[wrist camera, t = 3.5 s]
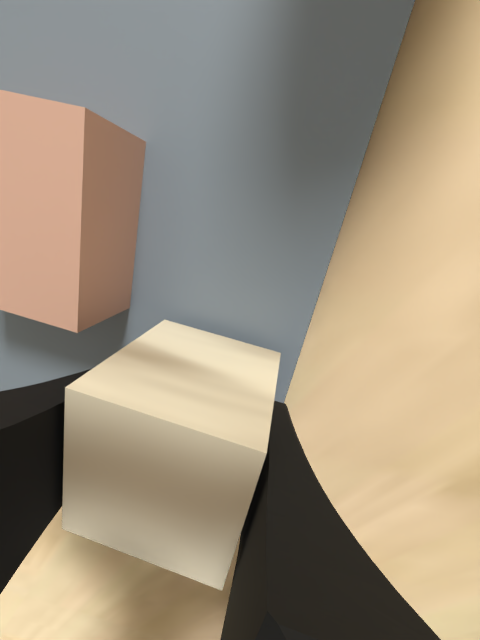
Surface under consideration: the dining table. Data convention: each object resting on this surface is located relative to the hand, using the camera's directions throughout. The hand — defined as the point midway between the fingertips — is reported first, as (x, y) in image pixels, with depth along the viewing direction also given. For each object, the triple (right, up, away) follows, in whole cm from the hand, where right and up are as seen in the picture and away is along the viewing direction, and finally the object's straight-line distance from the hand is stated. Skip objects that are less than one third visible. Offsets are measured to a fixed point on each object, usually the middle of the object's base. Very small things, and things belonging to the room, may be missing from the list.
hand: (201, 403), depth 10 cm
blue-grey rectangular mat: (-3, +5, +2) cm, 6 cm away
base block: (-5, +7, +1) cm, 9 cm away
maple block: (0, 0, +1) cm, 1 cm away
